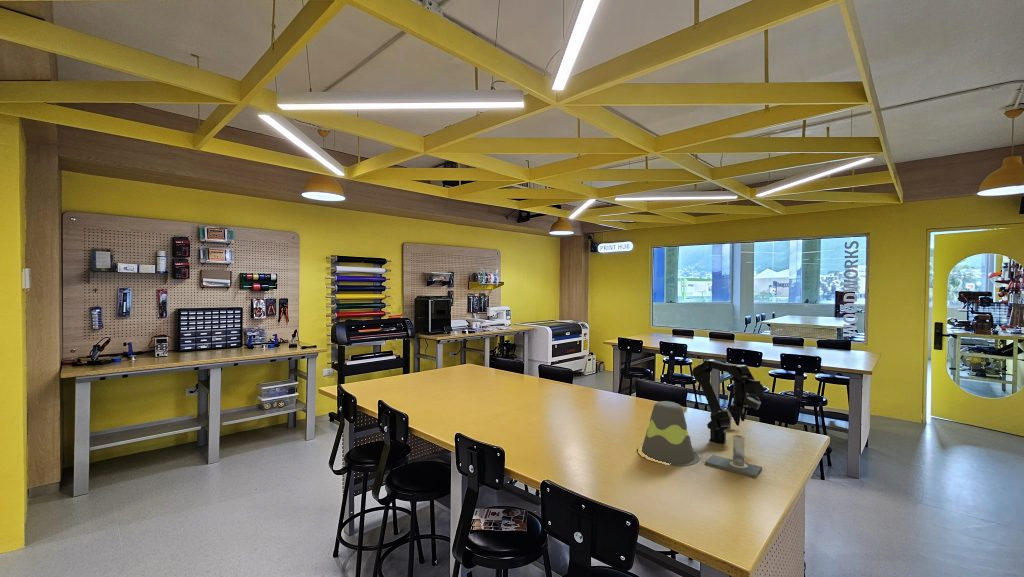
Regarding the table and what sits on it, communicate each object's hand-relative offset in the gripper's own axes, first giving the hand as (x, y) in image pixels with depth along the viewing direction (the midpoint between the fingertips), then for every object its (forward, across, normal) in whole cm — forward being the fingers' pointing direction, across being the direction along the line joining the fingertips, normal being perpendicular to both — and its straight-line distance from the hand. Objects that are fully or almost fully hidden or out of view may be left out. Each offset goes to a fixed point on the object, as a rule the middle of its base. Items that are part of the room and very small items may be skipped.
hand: (740, 423), depth 205 cm
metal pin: (+12, -23, -5) cm, 26 cm away
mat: (+13, -24, -3) cm, 27 cm away
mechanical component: (+13, +34, +14) cm, 39 cm away
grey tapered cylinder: (+13, -29, +24) cm, 40 cm away
